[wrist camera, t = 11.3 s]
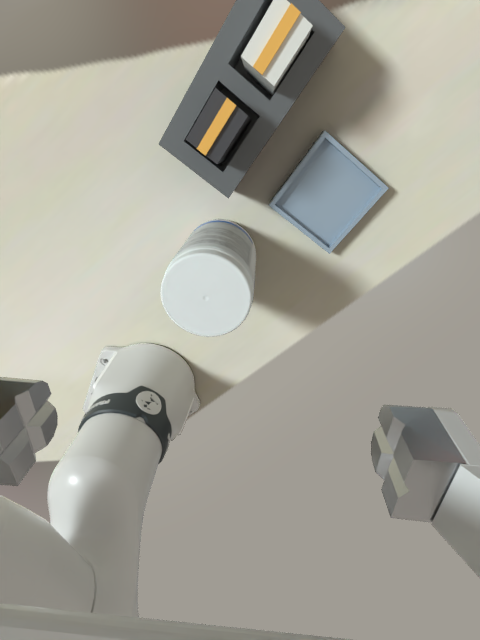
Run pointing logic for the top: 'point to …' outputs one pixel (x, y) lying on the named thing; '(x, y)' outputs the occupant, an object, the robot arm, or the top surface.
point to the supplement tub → (211, 279)
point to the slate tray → (327, 193)
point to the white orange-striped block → (276, 45)
